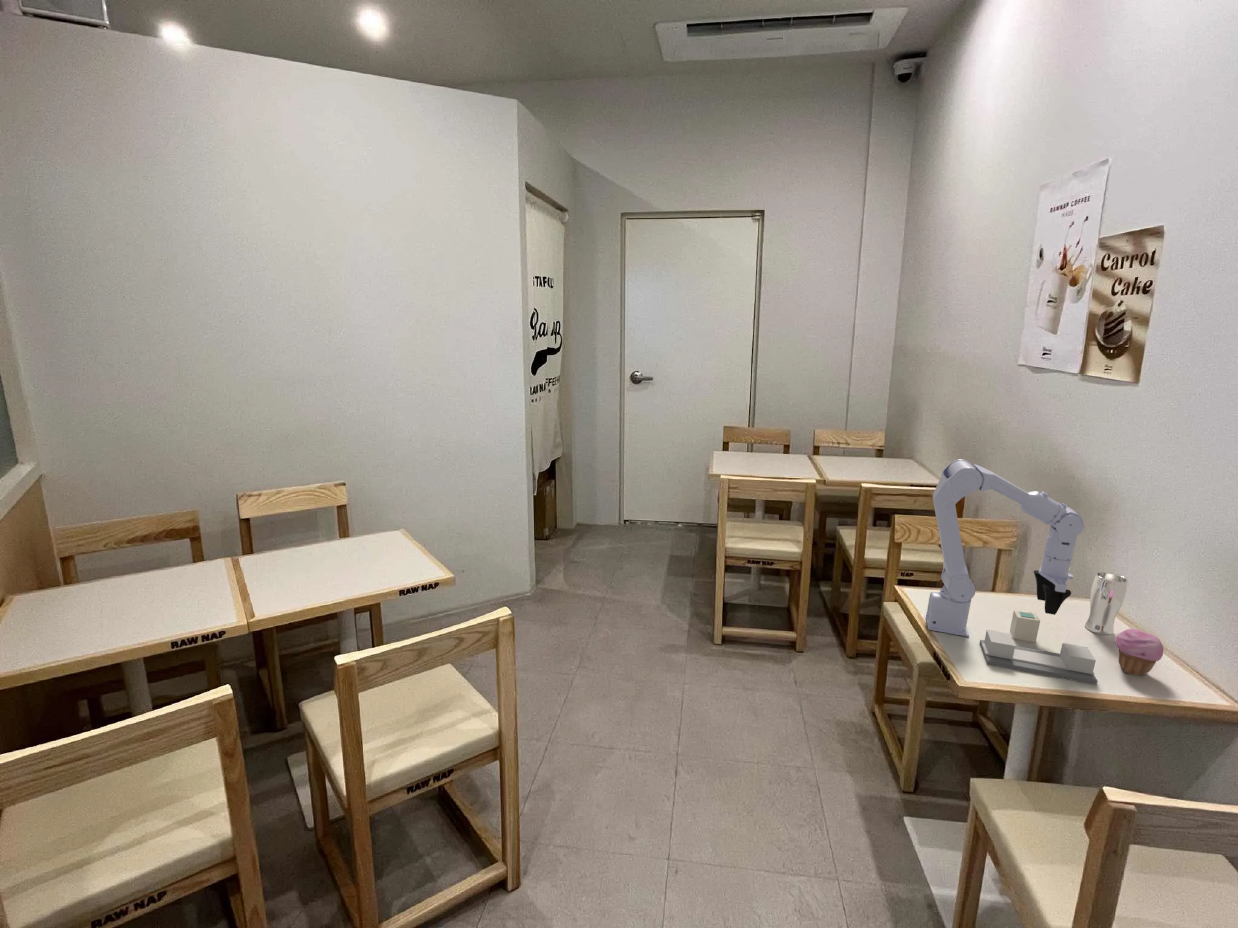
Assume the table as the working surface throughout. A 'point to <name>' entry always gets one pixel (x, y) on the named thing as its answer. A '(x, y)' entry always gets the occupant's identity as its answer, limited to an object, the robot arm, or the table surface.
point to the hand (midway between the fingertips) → (1046, 606)
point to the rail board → (1039, 658)
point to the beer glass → (1105, 602)
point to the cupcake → (1138, 651)
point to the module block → (1024, 626)
